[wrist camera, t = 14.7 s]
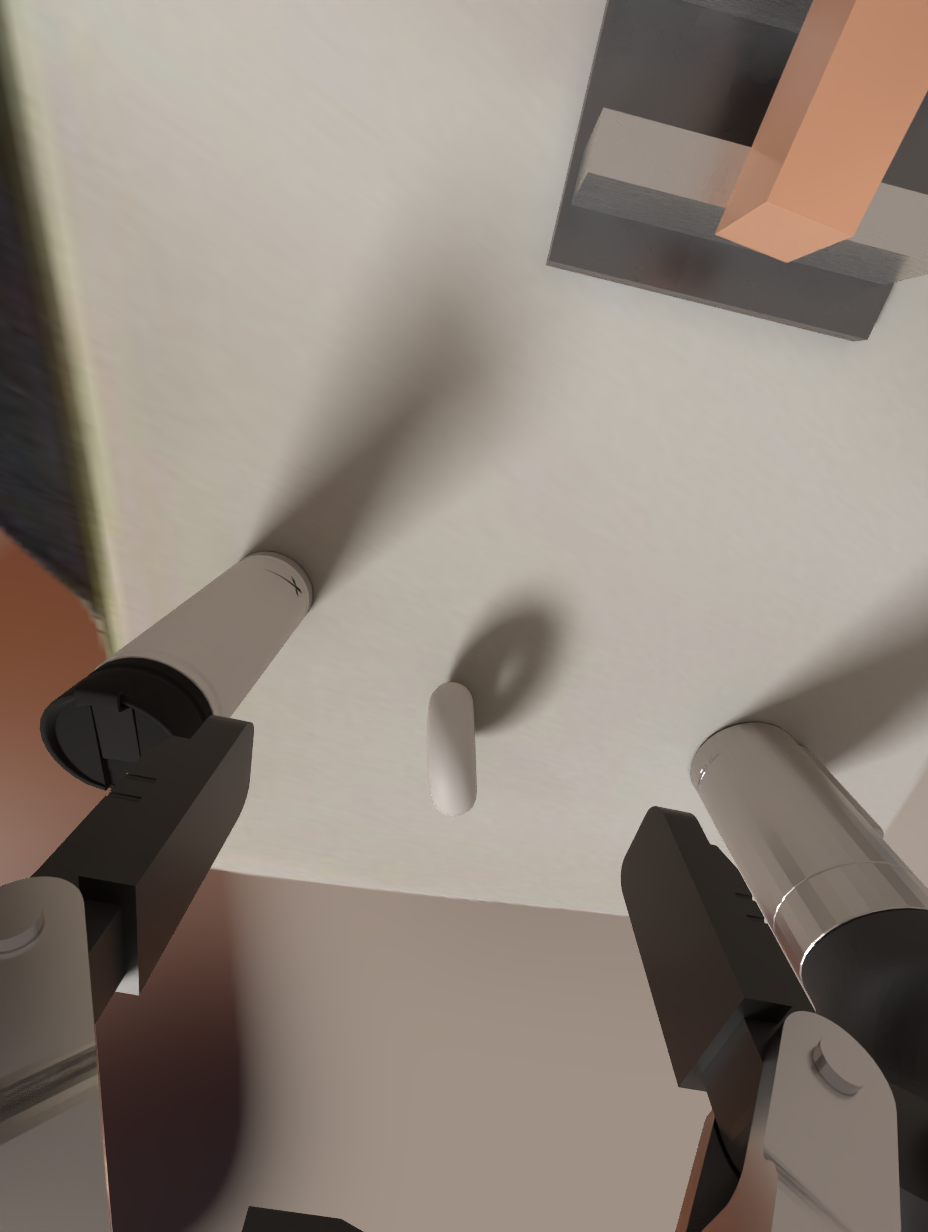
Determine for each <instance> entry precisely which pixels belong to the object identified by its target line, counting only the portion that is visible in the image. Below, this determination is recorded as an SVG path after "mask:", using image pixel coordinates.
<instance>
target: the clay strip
mask: <svg viewBox="0 0 928 1232" xmlns="http://www.w3.org/2000/svg"><path fill="white" fill-rule="evenodd" d="M927 91H928V0H813V2H812V4H811V7H810V9H809V11H808V14H807V16H806V19H805V21H804V23H803V26H802V28H801V30H800V33H799V35H798V38H797V40H796V42H795V45H794V47H793V49H792V52H791V54H790V57H789V59H788V61H787V64H786V66H785V68H784V71H783V73H782V76H781V78H780V80H779V83H778V85H777V88H776V90H775V92H774V95H773V97H772V99H771V102H770V104H769V107H768V109H767V111H766V114H765V116H764V118H763V121H762V123H761V126H760V128H759V130H758V133H757V135H756V137H755V140H754V142H753V145H752V147H751V149H750V152H749V154H748V156H747V159H746V161H745V164H744V166H743V168H742V171H741V173H740V176H739V178H738V180H737V183H736V185H735V187H734V190H733V192H732V195H731V197H730V199H729V202H728V204H727V206H726V209H725V211H724V214H723V216H722V218H721V221H720V223H719V225H718V228H717V230H716V233H715V235H717V236H720V237H722V238H725V239H728V240H730V241H733V242H735V243H738V244H740V245H743V246H745V247H748V248H750V249H753V250H755V251H758V252H761V253H763V254H766V255H768V256H771V257H773V258H776V259H778V260H781V261H783V262H786V263H788V262H790V261H793V260H795V259H798V258H800V257H803V256H805V255H808V254H810V253H813V252H815V251H818V250H820V249H823V248H825V247H828V246H830V245H833V244H835V243H838V242H840V241H843V240H845V239H848V238H850V237H853V236H854V234H855V232H856V230H857V228H858V226H859V224H860V222H861V220H862V218H863V216H864V214H865V212H866V210H867V208H868V207H869V205H870V203H871V201H872V199H873V197H874V195H875V193H876V191H877V189H878V187H879V185H880V183H881V181H882V179H883V177H884V175H885V173H886V171H887V169H888V167H889V165H890V163H891V161H892V160H893V158H894V156H895V154H896V152H897V150H898V148H899V146H900V144H901V142H902V140H903V138H904V136H905V134H906V132H907V130H908V128H909V126H910V124H911V122H912V120H913V118H914V116H915V115H916V113H917V111H918V109H919V107H920V105H921V103H922V101H923V99H924V97H925V95H926V93H927Z"/></svg>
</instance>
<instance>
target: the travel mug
mask: <svg viewBox="0 0 928 1232" xmlns="http://www.w3.org/2000/svg"><path fill="white" fill-rule="evenodd" d="M312 598H313V594H312V587H311V583H310V581H309V579H308V577H307V575H306V573H305V572H304V571H303V569H302V568H301V567H300V566H299V565H298V564H297V563H296V562H294V561H293V560H291V559H290V558H288V557H286V556H284V555H282V554H279V553H275V552H266V551H263V552H256V553H253V554H250V555H248V556H246V557H245V558H243V559H242V560H240V561H239V562H238V563H236V564H235V565H234V566H232V567H231V568H230V569H228V570H227V571H226V572H224V573H223V574H222V575H220V576H219V577H218V578H216V579H215V580H213V581H212V582H211V583H209V584H208V585H207V586H205V587H204V588H203V589H201V590H200V591H199V592H197V593H196V594H195V595H193V596H192V597H191V598H189V599H188V600H187V601H185V602H184V603H182V604H181V605H180V606H178V607H177V608H176V609H174V610H173V611H172V612H170V613H169V614H168V615H166V616H165V617H164V618H162V619H161V620H160V621H158V622H157V623H156V624H154V625H153V626H151V627H150V628H149V629H147V630H146V631H145V632H143V633H142V634H141V635H139V636H138V637H137V638H135V639H134V640H133V641H131V642H130V643H129V644H127V645H126V646H125V647H123V648H122V649H120V650H119V651H118V652H116V653H115V654H114V655H112V656H111V657H110V658H108V660H106V661H105V662H103V663H102V664H101V665H99V666H98V667H96V669H95V670H94V671H93V672H92V673H90V674H89V675H88V676H87V677H86V678H84V679H83V680H81V681H80V682H78V683H77V684H76V685H74V686H73V687H72V688H70V689H69V690H68V691H66V692H65V693H64V694H62V695H61V696H60V697H58V698H57V699H56V700H54V701H53V702H52V703H51V704H50V705H49V706H48V707H47V708H46V709H45V710H44V712H43V715H42V717H41V721H40V732H41V737H42V740H43V742H44V744H45V747H46V749H47V750H48V752H49V753H50V754H51V756H52V757H53V758H54V760H55V761H56V762H57V763H58V764H60V765H61V767H62V768H63V769H65V770H66V771H67V772H69V773H70V774H71V775H73V776H74V777H75V778H77V779H79V780H81V781H82V782H84V783H86V784H88V785H91V786H94V787H96V788H99V789H102V790H105V791H106V790H107V789H108V788H111V789H112V788H113V787H114V786H115V785H116V784H117V783H118V782H119V781H120V779H121V778H122V777H123V778H125V776H126V773H127V772H128V771H129V770H130V769H131V767H132V766H133V765H134V764H135V763H136V762H137V761H138V760H139V759H140V758H141V757H142V755H143V754H144V753H145V752H146V751H148V750H150V749H151V748H153V747H155V746H157V745H159V744H160V743H162V742H164V741H166V740H167V739H169V738H171V737H173V736H178V737H183V738H188V739H191V738H192V736H193V735H194V734H195V733H196V731H197V730H198V729H199V728H200V727H201V725H202V724H203V723H204V722H205V720H206V719H207V718H208V717H209V716H211V715H217V716H222V717H227V718H230V717H231V716H232V714H233V713H234V711H235V710H236V709H237V707H238V706H239V705H240V703H241V702H242V701H243V699H244V698H245V697H246V695H247V694H248V693H249V691H250V690H251V688H252V687H253V686H254V684H255V683H256V682H257V680H258V679H259V678H260V676H261V675H262V674H263V672H264V671H265V670H266V668H267V667H268V666H269V664H270V663H271V661H272V660H273V659H274V657H275V656H276V655H277V653H278V652H279V651H280V649H281V648H282V647H283V645H284V644H285V643H286V641H287V640H288V638H289V637H290V636H291V634H292V633H293V632H294V630H295V629H296V628H297V626H298V625H299V623H300V622H301V621H302V620H303V618H304V617H305V615H306V614H307V613H308V611H309V609H310V607H311V604H312Z"/></svg>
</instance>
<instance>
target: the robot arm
mask: <svg viewBox="0 0 928 1232" xmlns="http://www.w3.org/2000/svg"><path fill="white" fill-rule="evenodd" d="M253 736H254V726H253V723H251V722H247V721H242V720H237V719H232V718H227V717H222V716H217V715H211V716H209V717H208V718H207V719H206V720H205V722H204V723H203V724H202V725H201V727H200V728H199V729H198V730H197V731H196V733H195V734H194V735H193V736H192V738H191V739H188V738H183V737H178V736H173V737H171V738H169V739H167V740H166V741H164V742H162V743H160V744H159V745H157V746H155V747H153V748H151V749H150V750H148V751H146V752H145V753H144V754H143V755H142V757H141V758H140V759H139V760H138V761H137V762H136V763H135V764H134V765H133V766H132V767H131V769H130V770H129V771H128V772H127V773H126V776H125V778H123V777H122V778H121V779H120V781H119V782H118V783H117V784H116V785H115V786H114V787H113V788H112V789H111V790H110V793H109V795H108V796H105V797H104V798H103V799H102V800H101V801H100V803H99V804H98V805H97V806H96V807H95V808H94V809H93V810H92V811H91V812H90V813H89V815H88V816H87V817H86V818H85V819H84V820H83V821H82V822H81V823H80V824H79V825H78V827H77V828H76V829H75V830H74V831H73V832H72V833H71V834H70V835H69V836H68V837H67V838H66V840H65V841H64V842H63V843H62V844H61V845H60V846H59V847H58V848H57V849H56V851H55V852H54V853H53V854H52V855H51V856H50V857H49V858H48V859H47V860H46V861H45V863H44V864H43V865H42V866H41V867H40V868H39V869H38V870H37V871H36V872H35V873H34V874H33V875H32V876H31V877H30V878H25V879H21V880H17V881H14V882H11V883H8V884H5V885H2V886H0V1232H112V1222H111V1210H110V1199H109V1187H108V1175H107V1163H106V1152H105V1139H104V1127H103V1115H102V1103H101V1090H100V1079H99V1067H98V1054H97V1042H96V1030H95V1024H96V1022H97V1021H98V1019H99V1017H100V1016H101V1014H102V1012H103V1011H104V1009H105V1008H106V1006H107V1004H108V1002H109V1001H110V999H111V997H112V996H113V994H114V993H115V991H116V992H122V993H128V994H134V995H140V992H141V991H142V989H143V987H144V986H145V984H146V982H147V980H148V978H149V977H150V975H151V973H152V971H153V969H154V968H155V966H156V964H157V962H158V961H159V959H160V957H161V955H162V954H163V952H164V950H165V948H166V946H167V945H168V943H169V941H170V939H171V937H172V935H173V934H174V932H175V930H176V928H177V927H178V925H179V923H180V921H181V919H182V918H183V916H184V914H185V912H186V911H187V909H188V907H189V905H190V903H191V901H192V900H193V898H194V896H195V894H196V893H197V891H198V889H199V887H200V885H201V884H202V881H203V880H204V878H205V876H206V875H207V873H208V871H209V869H210V868H211V866H212V864H213V862H214V860H215V859H216V857H217V855H218V853H219V851H220V850H221V848H222V846H223V844H224V842H225V841H226V839H227V837H228V835H229V834H230V832H231V830H232V828H233V826H234V825H235V823H236V821H237V819H238V817H239V815H240V813H241V811H242V809H243V806H244V803H245V800H246V797H247V793H248V789H249V783H250V772H251V760H252V748H253ZM690 774H691V779H692V783H693V785H694V787H695V789H696V790H697V792H698V794H699V796H700V798H701V800H702V802H703V803H704V805H705V807H706V809H707V811H708V813H709V815H710V816H711V819H712V820H713V822H714V824H715V826H716V828H717V830H718V831H719V833H720V835H721V837H722V839H723V841H724V842H725V844H726V846H727V848H728V850H729V851H730V853H731V855H732V857H733V859H734V861H735V862H736V864H737V866H738V868H739V870H740V872H741V873H742V875H743V877H744V879H745V881H746V883H747V884H748V886H749V888H750V890H751V892H752V893H753V895H754V897H755V899H756V901H757V903H758V904H759V906H760V908H761V910H762V912H763V914H764V915H765V917H766V919H767V921H768V923H769V924H770V926H771V928H772V930H773V932H774V934H775V935H776V937H777V939H778V941H779V942H780V944H781V946H782V948H783V950H784V951H785V953H786V955H787V957H788V959H789V960H790V962H791V964H792V966H793V968H794V970H795V972H796V973H797V975H798V977H799V979H800V981H801V982H802V984H803V986H804V987H805V990H806V991H807V993H808V995H809V997H810V999H811V1000H812V1003H813V1004H814V1006H815V1009H816V1012H815V1010H814V1009H813V1007H812V1005H811V1003H810V1001H809V999H808V998H807V996H806V994H805V992H804V990H803V988H802V986H801V985H800V983H799V981H798V979H797V977H796V975H795V973H794V972H793V970H792V968H791V966H790V964H789V962H788V961H787V959H786V957H785V955H784V953H783V952H782V950H781V948H780V946H779V944H778V942H777V941H776V938H775V937H774V935H773V933H772V931H771V929H770V927H769V926H768V924H766V923H764V916H763V914H762V913H761V911H760V909H759V907H758V905H757V903H756V902H755V901H753V900H752V894H751V892H750V890H749V889H748V887H747V885H746V883H745V881H744V879H743V878H742V876H741V874H740V872H739V870H738V869H737V868H736V867H735V866H734V865H733V863H732V862H731V861H730V860H729V859H728V858H727V857H726V856H725V855H724V854H723V852H722V851H721V850H720V849H719V848H718V847H717V846H716V845H711V844H710V843H709V842H708V840H707V838H706V836H705V834H704V832H703V830H702V828H701V826H700V824H699V822H698V820H697V819H696V817H695V816H694V815H693V814H691V813H687V812H682V811H677V810H672V809H667V808H662V807H657V806H653V807H651V808H650V809H649V810H648V812H647V813H646V815H645V817H644V819H643V821H642V823H641V825H640V827H639V829H638V831H637V834H636V836H635V838H634V840H633V842H632V844H631V846H630V848H629V850H628V852H627V854H626V856H625V858H624V861H623V864H622V870H621V887H622V892H623V896H624V899H625V903H626V906H627V910H628V913H629V917H630V920H631V923H632V927H633V931H634V934H635V938H636V941H637V945H638V948H639V951H640V955H641V958H642V962H643V965H644V969H645V972H646V976H647V979H648V983H649V986H650V989H651V993H652V997H653V1000H654V1003H655V1007H656V1010H657V1014H658V1017H659V1021H660V1024H661V1028H662V1031H663V1035H664V1038H665V1042H666V1045H667V1048H668V1052H669V1056H670V1059H671V1062H672V1066H673V1070H674V1073H675V1077H676V1080H677V1083H678V1087H681V1088H688V1089H694V1090H700V1091H706V1092H707V1094H708V1097H709V1100H710V1103H711V1106H712V1110H711V1112H710V1113H709V1114H708V1116H707V1117H706V1120H705V1122H704V1126H703V1129H702V1133H701V1137H700V1141H699V1144H698V1148H697V1152H696V1156H695V1160H694V1163H693V1167H692V1170H691V1174H690V1178H689V1182H688V1185H687V1189H686V1193H685V1197H684V1201H683V1204H682V1208H681V1212H680V1216H679V1219H678V1223H677V1227H676V1230H675V1232H928V888H927V887H926V886H925V885H924V884H923V883H922V882H921V881H920V880H919V878H918V877H917V876H916V875H915V874H914V873H913V872H912V871H911V870H910V869H909V867H908V866H907V865H906V864H905V863H904V862H903V861H902V860H901V859H900V857H899V856H898V855H897V854H896V853H895V852H894V851H893V850H892V849H891V847H890V846H889V845H888V844H887V843H886V842H885V841H884V840H883V837H884V833H883V830H882V828H881V827H880V826H879V825H878V824H877V823H876V822H875V821H874V819H873V818H872V817H871V816H870V815H869V814H868V813H867V812H866V811H865V810H864V809H863V808H862V806H861V805H860V804H859V803H858V802H857V801H856V800H855V799H854V798H853V797H852V796H851V795H850V793H849V792H848V791H847V790H846V789H845V788H844V787H843V786H842V785H841V784H840V783H839V782H838V780H837V779H836V778H835V777H834V776H833V775H832V774H831V773H830V772H829V771H828V770H827V768H826V767H825V766H824V765H823V764H822V763H821V762H820V761H819V760H818V759H817V758H816V757H815V755H814V754H813V753H812V752H811V751H810V750H809V749H808V748H807V747H805V746H800V745H798V744H797V743H796V742H795V741H794V740H793V739H792V737H791V736H790V735H789V734H787V733H786V732H785V731H783V730H782V729H780V728H778V727H776V726H773V725H770V724H765V723H744V724H738V725H735V726H732V727H729V728H726V729H724V730H722V731H720V732H718V733H716V734H715V735H713V736H712V737H711V738H709V739H708V740H707V741H706V742H705V743H704V744H703V745H702V746H701V747H700V748H699V750H698V751H697V753H696V754H695V756H694V759H693V761H692V764H691V773H690ZM816 1013H817V1014H816ZM242 1232H363V1231H361V1230H359V1229H357V1228H356V1227H354V1226H352V1225H351V1224H349V1223H347V1222H345V1221H344V1220H342V1219H338V1218H331V1217H323V1216H316V1215H308V1214H302V1213H295V1212H287V1211H280V1210H273V1209H266V1208H259V1207H251V1206H249V1208H248V1211H247V1215H246V1219H245V1222H244V1226H243V1229H242Z"/></svg>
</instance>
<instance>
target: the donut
mask: <svg viewBox="0 0 928 1232" xmlns="http://www.w3.org/2000/svg"><path fill="white" fill-rule="evenodd" d="M427 758H428V775H429V784H430V792H431V797H432V801H433V803H434V805H435V807H436V808H437V809H438V810H439V811H440V812H441V813H443V814H445V815H448V816H460V815H463V814H465V813H466V812H468V811H469V810H470V809H471V808H472V807H473V805H474V803H475V800H476V794H477V781H476V753H475V729H474V709H473V700H472V695H471V694H470V692H469V690H468V689H467V688H466V687H465V686H464V685H461V684H459V683H456V682H448V683H444V684H442V685H440V686H439V687H438V688H437V689H436V690H435V691H434V692H433V694H432V696H431V698H430V702H429V709H428V721H427Z"/></svg>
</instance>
